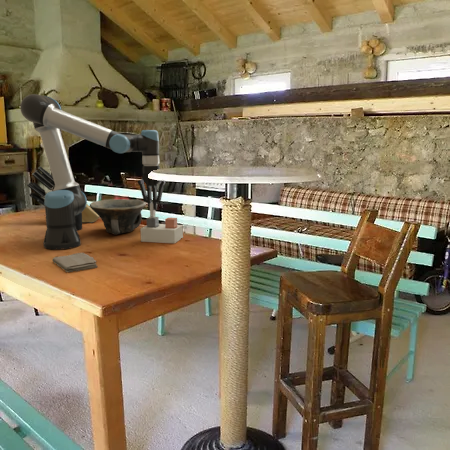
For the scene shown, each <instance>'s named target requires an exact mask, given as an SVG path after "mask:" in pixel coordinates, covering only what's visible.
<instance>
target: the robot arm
mask: <svg viewBox="0 0 450 450" xmlns="http://www.w3.org/2000/svg"><path fill="white" fill-rule="evenodd" d="M19 109H20V112H21V115H22V116H23V117H24V119H25V120H27V121H29V122H32V124H33V127H34V130H35V131H36V132H38V133H39V134H40V138H41V141H42V145H43V148H44V152H45V154H46V159H47V162H48V165H49V169H50V171H51V175H52V176H53V179H54V183H55V188H53V191H51V190H50V191H48V192H46V193H47V194H46V195H45V198H44V199H45V201H44V204H45V206H44V210H45V222H46V231H45V234H44V239H43V248H44V249H47V250H67V249H73V248H78V247H79V246H81V245H82V241H81V238H80V234H79V232H78V231H77V230H76V227H75V216H76V215H79V214H80V213H81V212H82V211H83V210H84V209H85V207H86V205H87V204H88V200H87V199H88V198H87V197H86V194H85V193H84V192H83V191H82V189H81V187H80V183H78V182H76V181H75V178H74V174H73V171H72V167H71V164H70V160H69V156H68V154H67V149H66V147H65V142H64V139H63V137H62V136H63V135H62V132H61V131H63V132H67V133H69V134H71V135H74V136H77V137H79V138H81V139H84V140H87V141H89V142H92V143H94V144H96V145H100V146H103V147H105V148H107V149H110V150H112V152H114V153H117V154H124V153H131V152H133V153H134V152H135V153H136V152H137V153H138V152H139V153H142V155H141V156H142V158H141V159H142V161H141V162H142V165H143V166H142V177H141V179H140V180H137V183H138V185H139V188H140V192H141V195H142V199H143V200H142V201H144V202H145V203H146V204H147V209H148V210H149V217H152V218H153V217H156V211H157V210H158V202H161V200H162V196H163V192H164V191H163V190H164V187H165V184H166V180H163V181H157V180H152V179H149V178H148V174H149V173H150V172H151V171H153V170H157V169H160V170H161V168H160V139H159V137H160V136H159V132H158V131H157V130H156V129H142V130H141V132H140V134H123V133H120V132H118V131H115V130H112V129H109V128H107V127H105V126H102V125H99V124H97V123H95V122H93V121H89V120H88V119H85V118H82V117H80V116H78V115H74V114H72V113H70V112H67V111H66V110H65V111H64V110H62V108H61V104H59V103H58V101H57V100H56V99H54V98H52V97H50V96H47V95H41V94H36V93H32V94H31V93H30V94H28V95H26V96H25V97H23V98H22V99H21V102H20V107H19ZM144 183H145V184H144ZM158 184H159V186H158ZM145 185H146V187H145Z"/></svg>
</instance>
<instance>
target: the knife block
mask: <svg viewBox="0 0 450 450" xmlns="http://www.w3.org/2000/svg"><path fill="white" fill-rule="evenodd" d="M31 176H32V177H33V178H35V180H37V181H38V182H39V183H40V184H42V185H43V186H44V187H45V188H47V189H48V190H49V191H50V192H51V191H53V189H54V188H55V183H54V179H53V176H52V173H50V172H48V171H47V170H46V169H45V168H43V167H42V166H39V167H38V168H37V169H36V170H35V171H34V172H32V174H31ZM26 185H27V187H28V188H29V189H31V190H32V191H33V192H31V193H29V197H30V198H32V199H34V200H35V201H36V202H38V203H39V204H41V205H43V206H44V207H45V204H44V201H45V195H46V194H47V193H48V192H46V191H45V189H43V188H42V187H41V186H40V185H39V184H37V183H36V182H32V181H30V182H28V183H27V184H26ZM99 218H100V216H99V215H98V214H97V213H96V212H94V211H93V210H92V209H91V207H90V204H88V203H87V205H86V207H85V209H84V210H83V211H82V223H90V224H91V223H95V222H97V221H98V219H99Z"/></svg>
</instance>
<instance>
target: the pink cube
mask: <svg viewBox="0 0 450 450" xmlns="http://www.w3.org/2000/svg"><path fill="white" fill-rule="evenodd" d="M164 222H165V223H164V224H165V228H174V229H175V228H177V225H178V217H167V218H165V221H164Z"/></svg>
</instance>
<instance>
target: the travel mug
mask: <svg viewBox="0 0 450 450" xmlns="http://www.w3.org/2000/svg"><path fill="white" fill-rule="evenodd" d="M75 227H76V230H77V232H78V231H82V230H83V222H82V212H81V213H80V214H79V215H76V216H75Z"/></svg>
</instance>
